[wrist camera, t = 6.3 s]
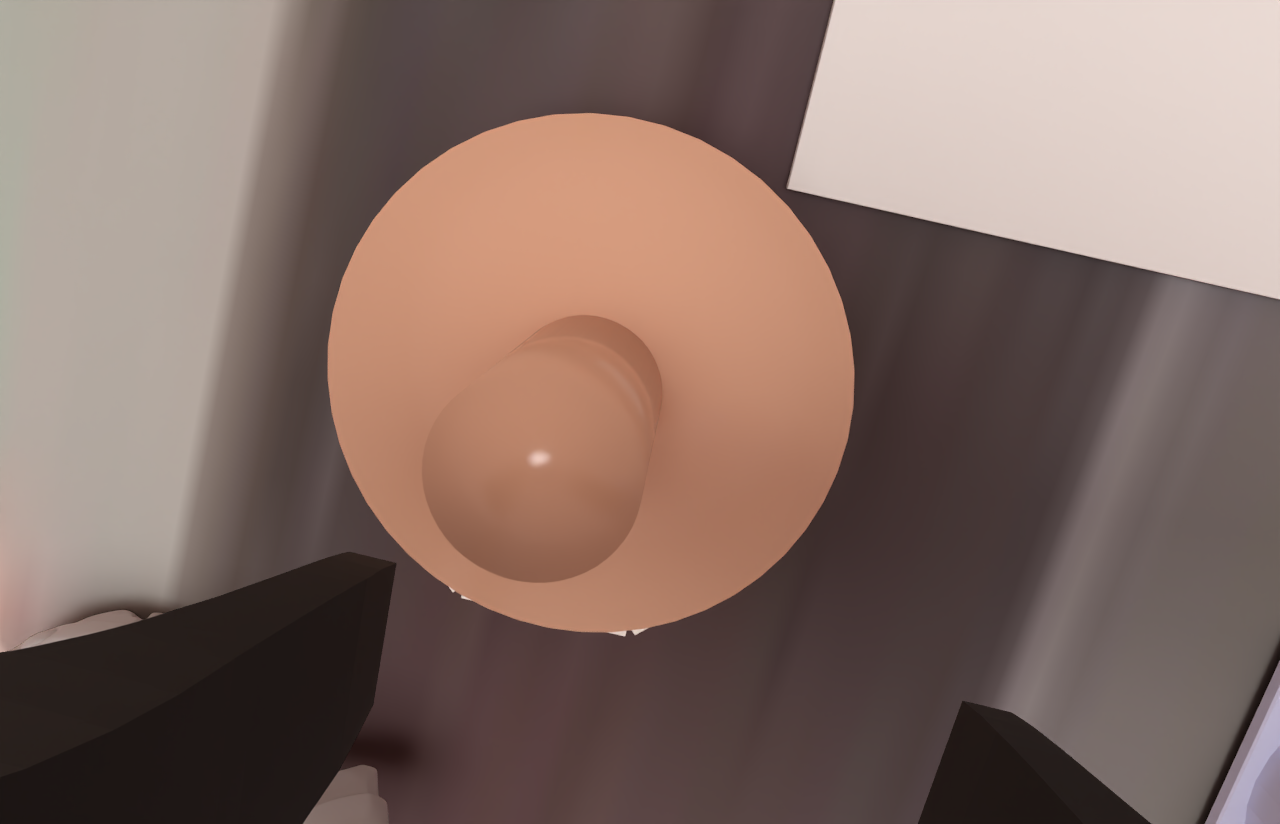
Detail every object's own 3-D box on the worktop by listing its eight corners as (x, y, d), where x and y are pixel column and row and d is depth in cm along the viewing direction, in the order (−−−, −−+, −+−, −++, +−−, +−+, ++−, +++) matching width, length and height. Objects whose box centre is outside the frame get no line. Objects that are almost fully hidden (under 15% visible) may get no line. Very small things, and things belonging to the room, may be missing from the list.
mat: (1551, -211, 16) (1572, -222, 16) (1329, 310, 19) (1342, 313, 18) (920, -345, 16) (926, -358, 16) (786, 188, 19) (787, 188, 18)
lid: (923, 210, 15) (1055, 220, 10) (749, 666, 18) (770, 893, 12) (410, 49, 15) (232, -41, 10) (306, 527, 18) (113, 687, 12)
